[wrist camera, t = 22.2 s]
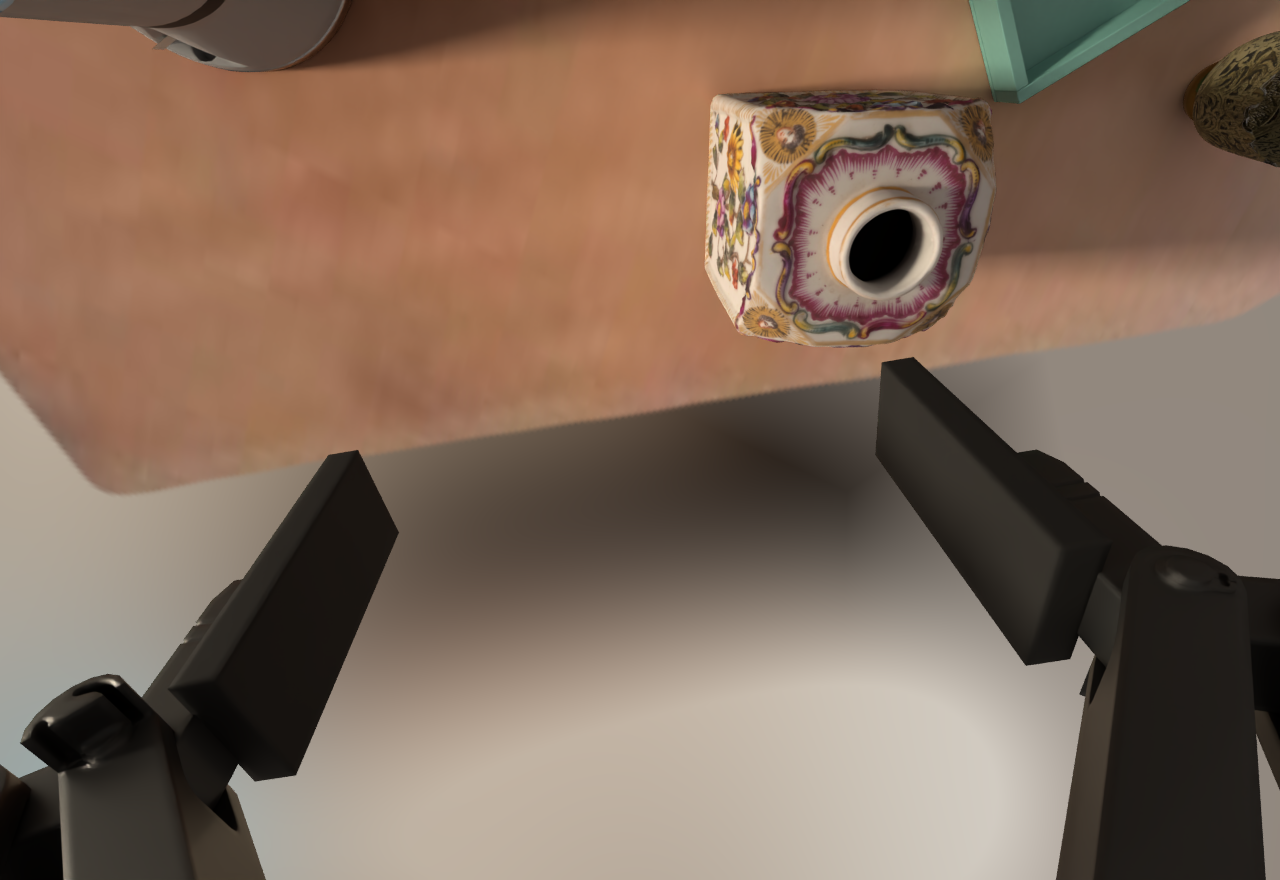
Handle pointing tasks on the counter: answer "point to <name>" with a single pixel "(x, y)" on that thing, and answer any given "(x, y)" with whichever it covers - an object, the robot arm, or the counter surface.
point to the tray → (1053, 37)
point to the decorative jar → (845, 211)
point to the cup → (1240, 101)
